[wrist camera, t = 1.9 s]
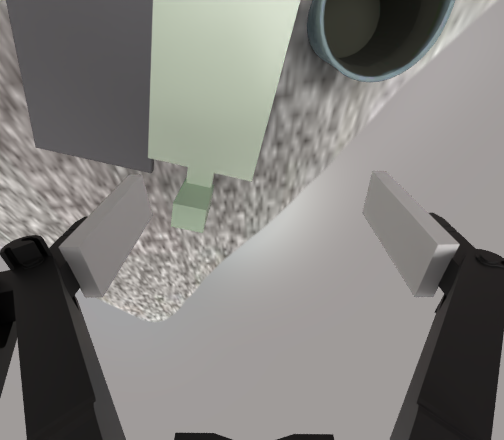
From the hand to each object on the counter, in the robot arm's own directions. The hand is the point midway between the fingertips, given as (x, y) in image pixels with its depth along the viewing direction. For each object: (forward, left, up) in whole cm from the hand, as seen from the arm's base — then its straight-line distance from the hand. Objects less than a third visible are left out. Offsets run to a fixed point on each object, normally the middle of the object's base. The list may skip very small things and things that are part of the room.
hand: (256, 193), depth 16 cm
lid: (-5, 0, -17) cm, 17 cm away
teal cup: (+7, +12, -24) cm, 28 cm away
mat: (-21, -1, -24) cm, 32 cm away
